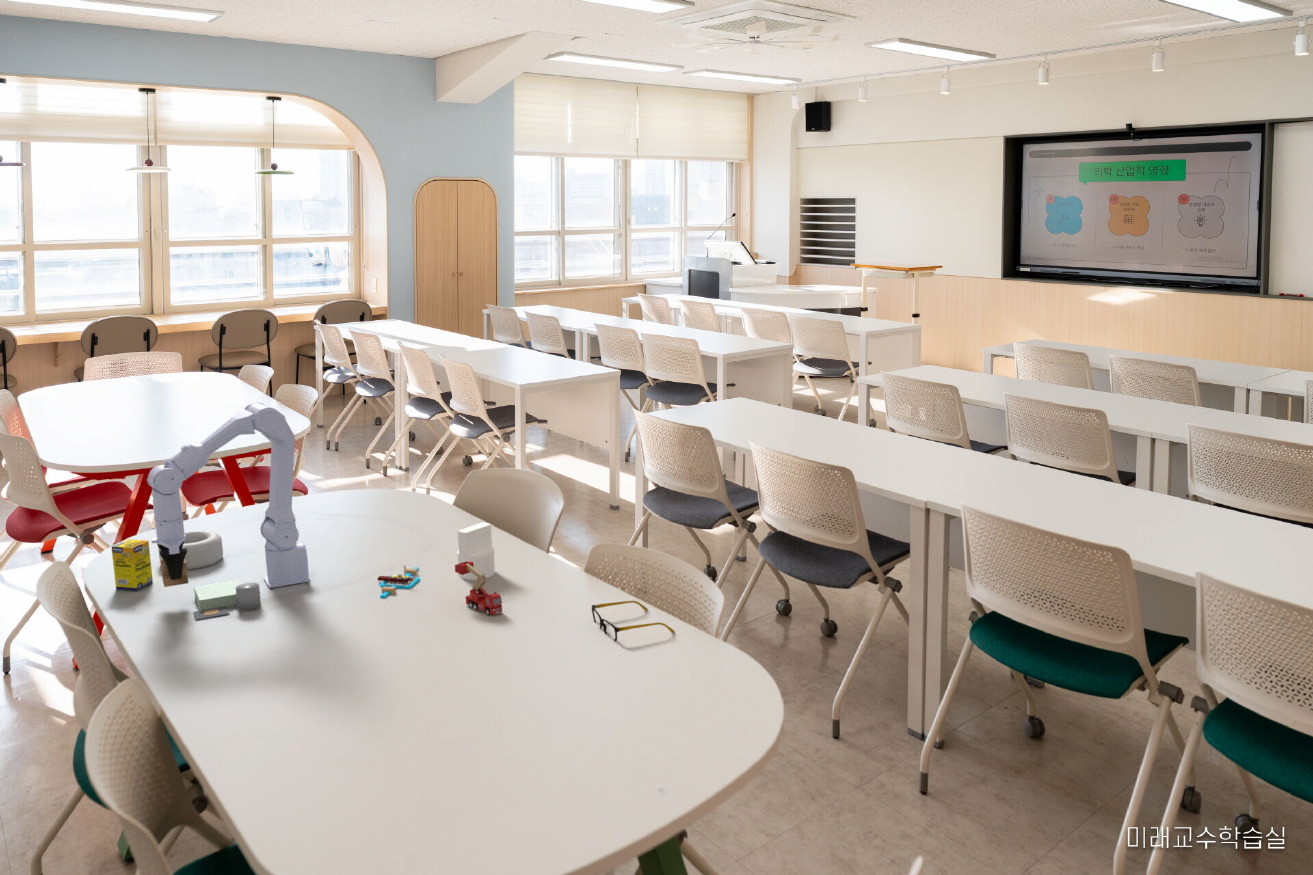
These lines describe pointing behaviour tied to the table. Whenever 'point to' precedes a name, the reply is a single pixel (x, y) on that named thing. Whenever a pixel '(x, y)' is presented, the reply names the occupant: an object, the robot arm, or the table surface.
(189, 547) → the donut shape
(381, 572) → the table surface
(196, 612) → the card
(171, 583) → the walnut cube
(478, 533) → the base with upright slab
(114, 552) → the supplement box
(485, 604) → the toy fire truck
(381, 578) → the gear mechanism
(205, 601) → the sage slab
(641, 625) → the eyeglasses
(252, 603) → the grey cylinder
